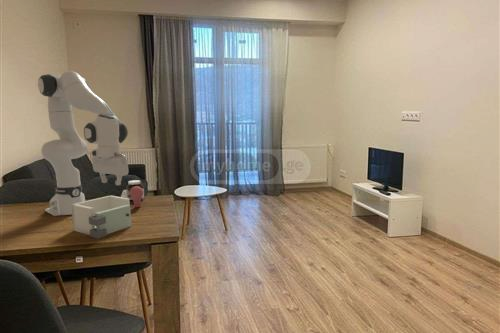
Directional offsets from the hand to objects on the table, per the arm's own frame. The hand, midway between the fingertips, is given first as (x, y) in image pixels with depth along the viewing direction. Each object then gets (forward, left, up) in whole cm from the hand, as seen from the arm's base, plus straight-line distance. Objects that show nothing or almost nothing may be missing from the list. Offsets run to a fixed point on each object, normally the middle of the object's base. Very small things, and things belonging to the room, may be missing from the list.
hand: (111, 183), depth 150 cm
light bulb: (-23, +32, -21) cm, 45 cm away
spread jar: (-39, +41, -22) cm, 60 cm away
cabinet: (-7, 0, -21) cm, 22 cm away
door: (0, 0, -21) cm, 21 cm away
